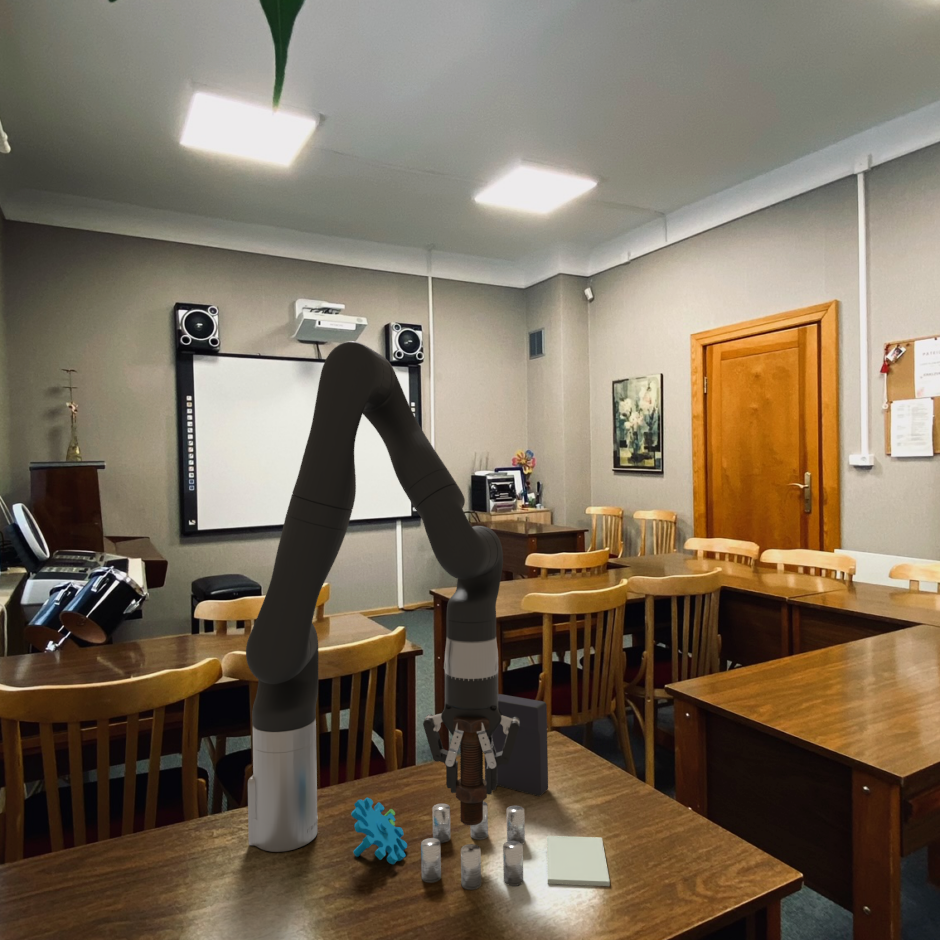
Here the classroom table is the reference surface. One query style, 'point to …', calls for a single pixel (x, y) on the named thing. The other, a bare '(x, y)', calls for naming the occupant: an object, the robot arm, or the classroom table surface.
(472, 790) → the bolt
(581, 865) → the plate
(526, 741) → the dark grey slab
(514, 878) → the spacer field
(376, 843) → the gear
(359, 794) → the classroom table surface
